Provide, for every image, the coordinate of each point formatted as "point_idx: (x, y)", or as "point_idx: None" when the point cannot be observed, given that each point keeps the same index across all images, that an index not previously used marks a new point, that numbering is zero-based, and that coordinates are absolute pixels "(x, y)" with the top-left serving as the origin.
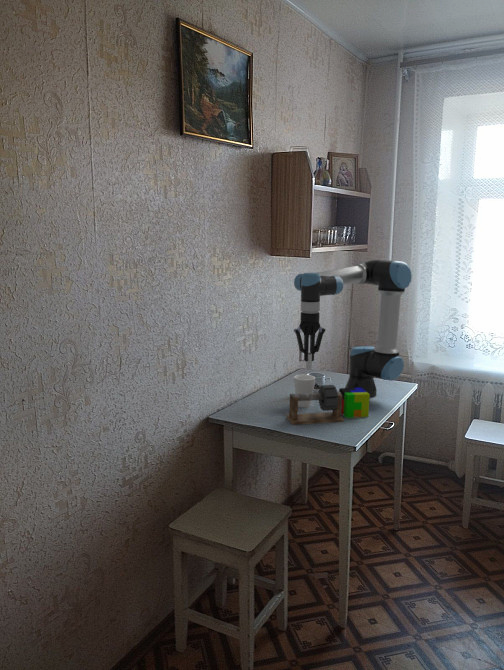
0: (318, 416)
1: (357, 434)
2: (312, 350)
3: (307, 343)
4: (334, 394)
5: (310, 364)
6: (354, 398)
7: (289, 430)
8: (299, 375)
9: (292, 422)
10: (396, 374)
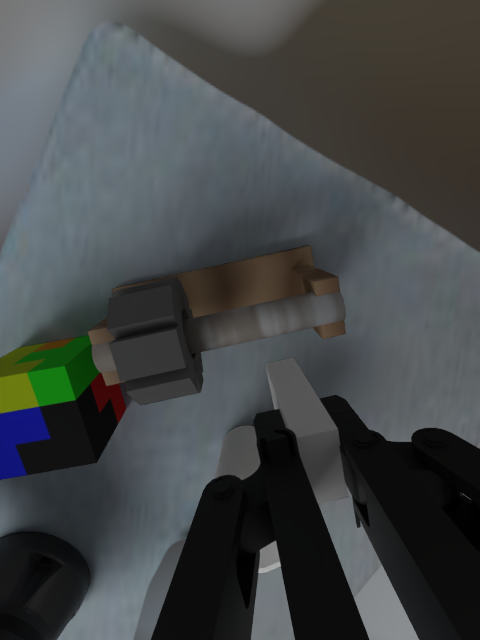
0: (207, 311)
1: (72, 151)
2: (295, 475)
3: (440, 556)
4: (126, 301)
5: (282, 380)
6: (37, 365)
7: (326, 185)
8: (274, 561)
9: (310, 249)
10: None
